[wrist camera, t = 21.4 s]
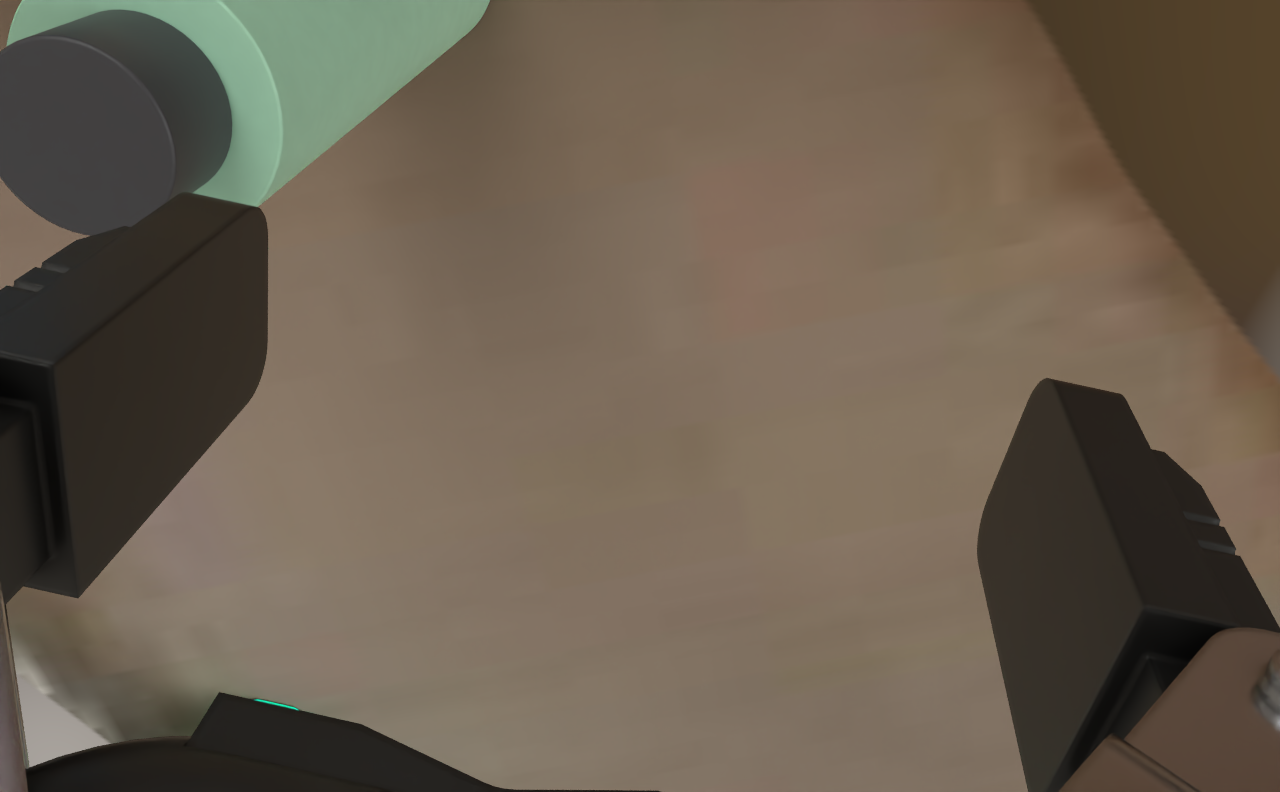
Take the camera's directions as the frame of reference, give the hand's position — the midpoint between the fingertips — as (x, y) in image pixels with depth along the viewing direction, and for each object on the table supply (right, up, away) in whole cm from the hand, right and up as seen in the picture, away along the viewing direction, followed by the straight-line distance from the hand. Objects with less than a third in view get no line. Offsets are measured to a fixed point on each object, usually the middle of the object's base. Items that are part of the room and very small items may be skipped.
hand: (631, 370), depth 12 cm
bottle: (-6, +12, +19) cm, 24 cm away
